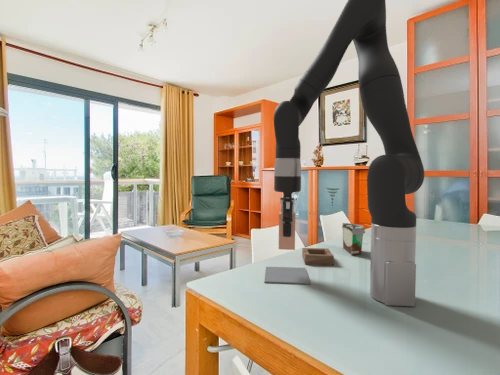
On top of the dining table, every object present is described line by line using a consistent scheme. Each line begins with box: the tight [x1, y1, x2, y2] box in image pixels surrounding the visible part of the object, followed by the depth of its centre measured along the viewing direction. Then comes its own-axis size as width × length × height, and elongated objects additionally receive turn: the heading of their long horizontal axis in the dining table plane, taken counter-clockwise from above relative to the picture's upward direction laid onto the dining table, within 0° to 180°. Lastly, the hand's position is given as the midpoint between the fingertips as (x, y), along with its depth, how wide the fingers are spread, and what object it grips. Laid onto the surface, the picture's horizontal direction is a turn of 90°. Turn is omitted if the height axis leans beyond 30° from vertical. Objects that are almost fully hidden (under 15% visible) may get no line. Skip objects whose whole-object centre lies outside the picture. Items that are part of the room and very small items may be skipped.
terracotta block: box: [278, 211, 296, 251], centre depth 78 cm, size 4×4×10 cm
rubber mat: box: [264, 266, 311, 285], centre depth 77 cm, size 12×12×1 cm
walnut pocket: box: [301, 247, 335, 266], centre depth 91 cm, size 9×9×3 cm
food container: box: [341, 222, 366, 257], centre depth 102 cm, size 12×6×10 cm, turn 179°
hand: (286, 234), depth 78 cm, fingers closed on terracotta block, 4 cm apart
